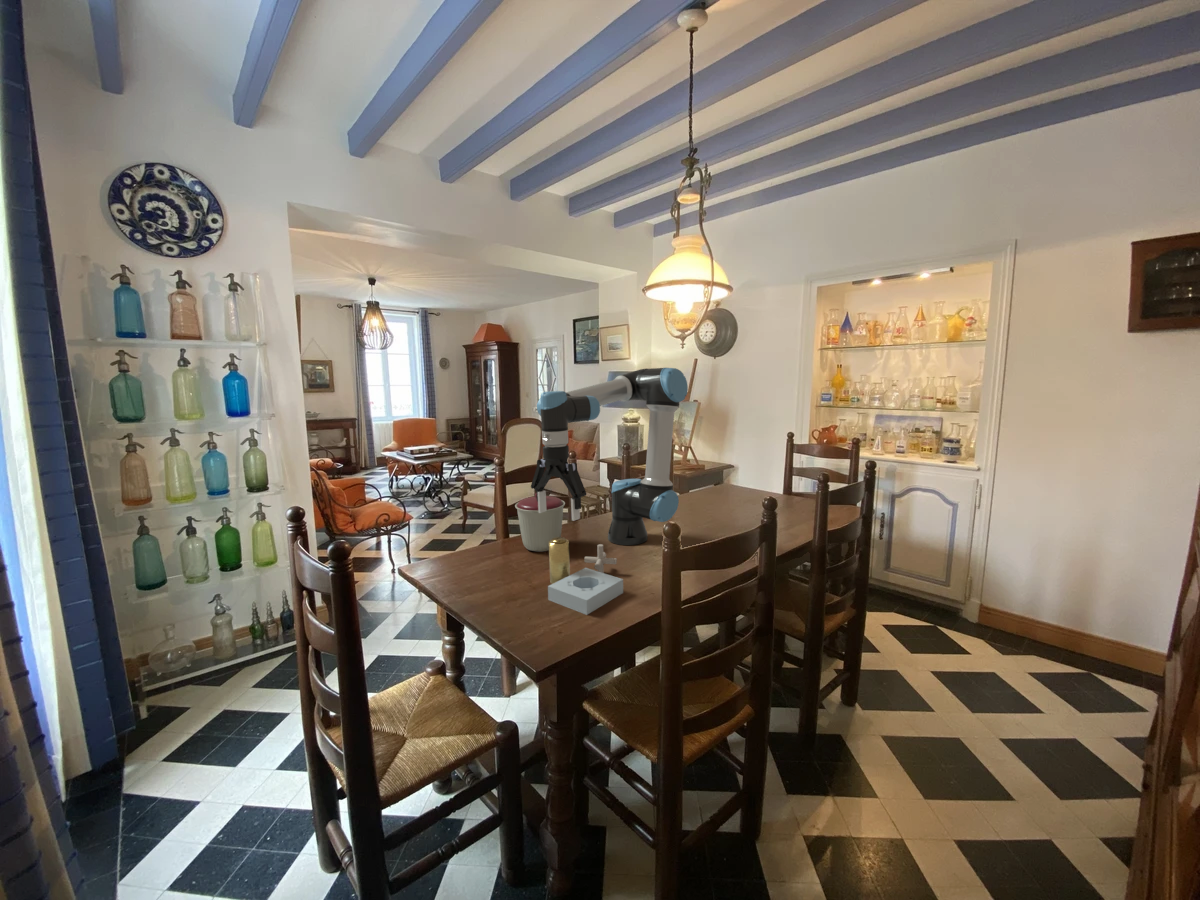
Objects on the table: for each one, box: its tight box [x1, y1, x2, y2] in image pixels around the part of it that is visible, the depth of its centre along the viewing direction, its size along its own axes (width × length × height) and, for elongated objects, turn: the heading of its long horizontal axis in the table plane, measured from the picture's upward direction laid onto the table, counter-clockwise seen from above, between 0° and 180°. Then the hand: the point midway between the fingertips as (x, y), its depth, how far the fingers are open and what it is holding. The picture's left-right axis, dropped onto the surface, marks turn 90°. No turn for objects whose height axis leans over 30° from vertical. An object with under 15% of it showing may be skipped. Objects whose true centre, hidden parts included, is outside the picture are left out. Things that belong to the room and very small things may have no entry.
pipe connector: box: [583, 543, 618, 573], centre depth 149 cm, size 10×10×10 cm
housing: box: [547, 567, 624, 616], centre depth 133 cm, size 16×14×5 cm
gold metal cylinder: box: [548, 536, 571, 585], centre depth 143 cm, size 6×6×14 cm
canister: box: [514, 493, 566, 553], centre depth 174 cm, size 18×18×21 cm
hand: (558, 515), depth 141 cm, fingers open, 13 cm apart
